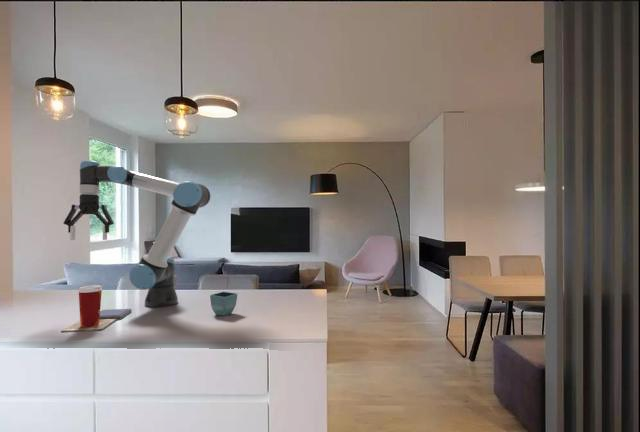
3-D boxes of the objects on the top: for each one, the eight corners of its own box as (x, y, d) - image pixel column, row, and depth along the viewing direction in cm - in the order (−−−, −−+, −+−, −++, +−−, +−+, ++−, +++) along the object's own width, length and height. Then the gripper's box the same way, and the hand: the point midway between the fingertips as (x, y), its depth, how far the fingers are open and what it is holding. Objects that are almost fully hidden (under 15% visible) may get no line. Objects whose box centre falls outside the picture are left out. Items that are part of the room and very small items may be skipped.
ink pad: (131, 311, 155) (131, 308, 155) (120, 319, 143) (120, 315, 143) (102, 312, 153) (102, 309, 153) (89, 320, 141) (89, 316, 141)
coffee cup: (107, 322, 137) (107, 285, 137) (87, 329, 129) (88, 289, 129) (91, 320, 139) (92, 284, 139) (71, 326, 131) (72, 288, 132)
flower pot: (238, 313, 154) (238, 293, 154) (224, 317, 146) (225, 297, 146) (222, 310, 158) (222, 291, 158) (209, 315, 150) (209, 295, 150)
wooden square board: (117, 319, 142) (117, 318, 142) (102, 330, 129) (102, 329, 129) (80, 321, 140) (80, 320, 140) (61, 332, 126) (61, 330, 126)
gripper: (121, 195, 164) (121, 239, 164) (64, 194, 160) (63, 239, 160) (115, 194, 157) (114, 240, 157) (54, 193, 153) (54, 240, 152)
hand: (88, 239), depth 158 cm, fingers open, 13 cm apart
